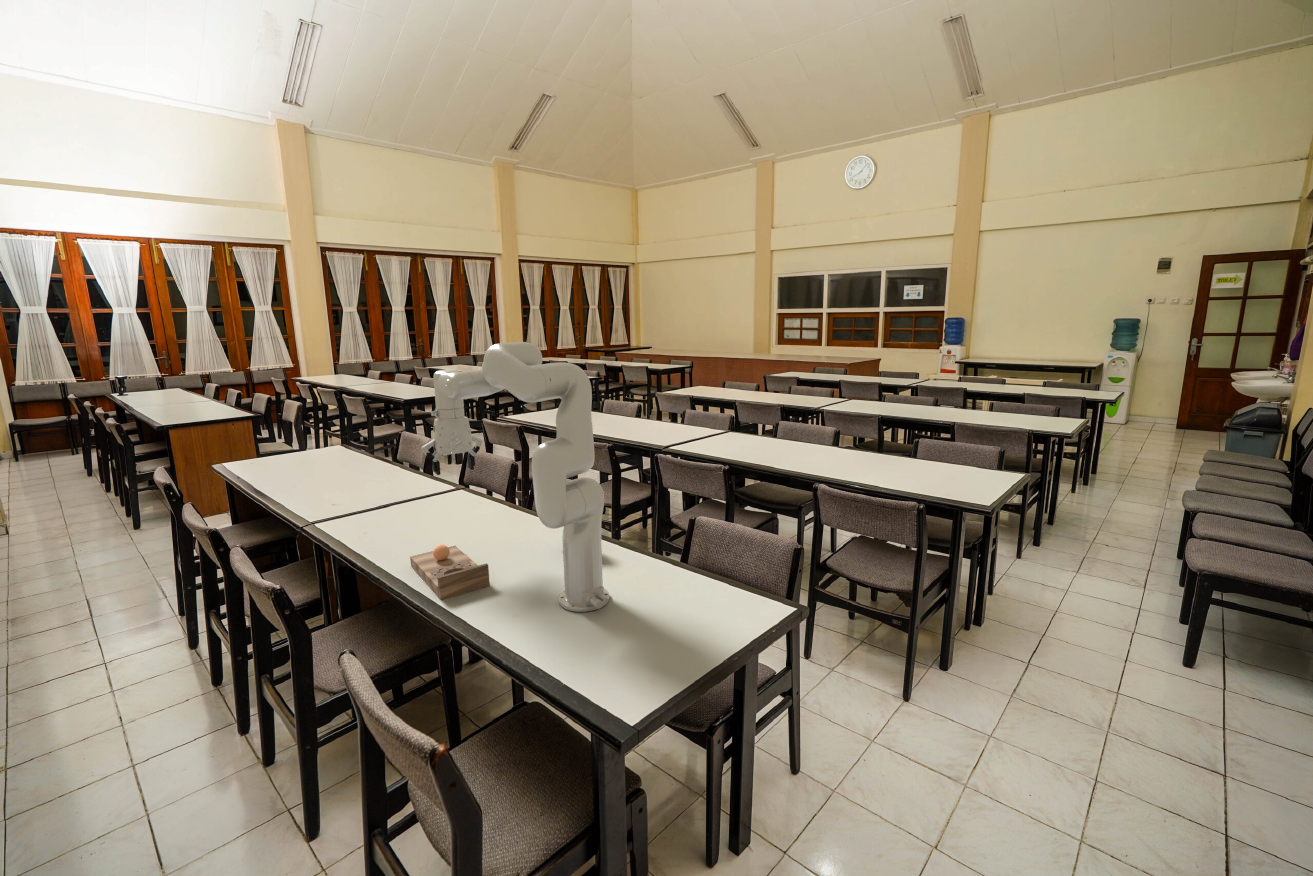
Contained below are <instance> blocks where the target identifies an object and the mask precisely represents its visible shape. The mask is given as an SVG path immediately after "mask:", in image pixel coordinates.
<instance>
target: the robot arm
mask: <svg viewBox="0 0 1313 876" xmlns="http://www.w3.org/2000/svg"><path fill="white" fill-rule="evenodd" d="M433 386H434V387H433V389H434V400H435V401H434V402H435V408H434V410H432V411H431V412H430V415H431V417H435V418H434V419H433V420H434V421H433V427H432V428H433V431H432V433H433V435H432V439H431V440H430V441H428V442H427V443H425V444H424V445H422V446H421V448H420V449H421V451H422V453H423V454H424V455H425V456H426V457H427V458H428V459H429V460H431V462H432V463H431V464H432V472H433V473H435V475H437V476H440V475H441V466H440V465H441V464H440V463H441V462H440V461H439V459H440V457H441V456H449V455H454V454H463V453H468V454H467V456H466V457H467V459H466V460H467V468H468V469H470V470H474V468H475V466H476V462H475V461H476V458H475V457H476V455H477V453H478V452H479V451H480V449H481V446H482V445H483V439H480V438H478V437H475V436H473V435H472V431H471V427H470V422H469V418H468V416H465V407H464V406H465V404H464V400H467V399H473V398H480V397H488V396H490V395H494V394H495V393H499V392H501V391H503V390H506V391H508V392H509V393H510V394H512V395H513V396H514V397H515V398H517V399H518V400H520V401H522V402H525V403H538V402H546V401H550V400H555V399H560V400H561V401H560V403H559V406H558V408H557V411H556V415H555V427H556V438H554V439H551V440H546V441H545V442H542V443H541V444H539V445H538V446H537V447H535V450H534V452H533V454H532V457H531V476H532V485H533V495H534V496H533V497H534V505H535V510H536V514H537V516H538V518H539V521H540V522H541V523H542V525H544V526H545V527H546V528H549V529H551V530H554V529H561V528H563V529H562V557H563V558H562V561H563V577H564V578H563V579H564V580H563V581H564V590H563V591H562V592H561V593H560V594H559V596H558V603H559V605H560V606H561V608H564V609H565V610H567V611H570V612H575V613H576V612H578V613H579V612H580V613H581V612H583V613H584V612H592V611H595V610H600V609H601V608H603V607H604V606H606V605H607V604H608V603H609V601H610V592H609V591H608V589H606V588H604V584H603V582H604V581H603V553H602V549H603V548H602V520H603V512H604V506H605V493H604V490H603V487H602V485H601V484H600V483H599V482H598V481H597V480H596V479H593V478H592V477H579V478H575V479H572V480H569V481H567V479H570V478H572V477H575V476H578V475H581V474H584V473H586V472H588V471H590V470H591V469H592V468H593V467H594V464H595V460H596V459H595V444H594V443H595V441H594V440H595V439H594V430H593V429H594V428H593V421H592V419H593V418H592V404H593V403H592V400H593V394H592V392H593V391H592V389H593V388H592V384H591V381H590V378H589V377H588V375H587V373H586V372H585V371H584V370H583V368H581V367H580V366H579V365H576V364H574V363H571V362H551V363H549V362H548V363H543V355H542V352H541V350H540V349H539V347H538V346H537V345H535V344H533V343H531V342H527V341H517V342H516V341H515V342H502V343H501V342H500V343H495V344H493V345H491V346H489V347H488V348H487V350H486V351H485V352H484V356H483V362H482V364H481V369H475V370H474V369H473V370H472V369H471V370H464V371H459V370H457V369H439V370H436V371H435V372H434V373H433ZM473 442H475V444H474V445H473ZM432 447H433V453H431V452H430V451H429V450H430V449H431V448H432Z"/></svg>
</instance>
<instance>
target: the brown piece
mask: <svg viewBox="0 0 1313 876" xmlns="http://www.w3.org/2000/svg"><path fill="white" fill-rule="evenodd" d="M447 547H448V548H449V550H450V554H449V556H448V557H447V558H446V559H445V560H437V559H436V558H435V557H434V555H433V551H434V550H432V551H427V552H423V553H419V554H416V555H411V556H409V558H410V566H411V568H412V569H413V571H415V572H416V574H417V576H419V577H420V578H421V579H422V581H423V582H424V583H425V584H426V585H427V586H428V587H429V589H430V590H431V591H433V593H434V595H435V596H436V597H437V598H438V599H439V600H440V601H442V600H445V599H449V598H452V597H455V596H459V595H462V594H465V593H469V592H473V591H476V590H479V589H483V588H486V587H489V586H491V584H490V571H489V564H488V563H483V564H479V565H478V564H477V563H476V562H475V561H473V560H472V559H471V558H470V557H469V556H468V555H467V554H465V553H464V552H463V551H462V550H461V549H460V548H459V547H458V546H456V545H453V546H447Z"/></svg>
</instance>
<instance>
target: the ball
mask: <svg viewBox="0 0 1313 876" xmlns="http://www.w3.org/2000/svg"><path fill="white" fill-rule="evenodd" d="M448 547H449V546H448V545H446V544H438V545H436V546H435V547H434V549H433V550H432V551H433V555H434V557H435V558H436V559H437V560H445V559H446V558H447V557H448V556H449V554H450V550H449V548H448Z"/></svg>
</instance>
